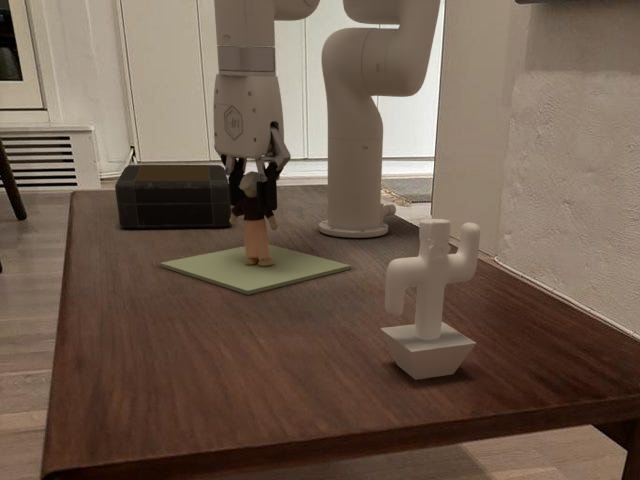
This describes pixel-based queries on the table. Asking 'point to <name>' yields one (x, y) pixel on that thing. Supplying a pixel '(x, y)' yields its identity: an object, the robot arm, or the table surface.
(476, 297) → the table surface
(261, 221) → the grandmother figurine
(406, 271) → the figurine
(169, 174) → the cash box
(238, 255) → the mat
